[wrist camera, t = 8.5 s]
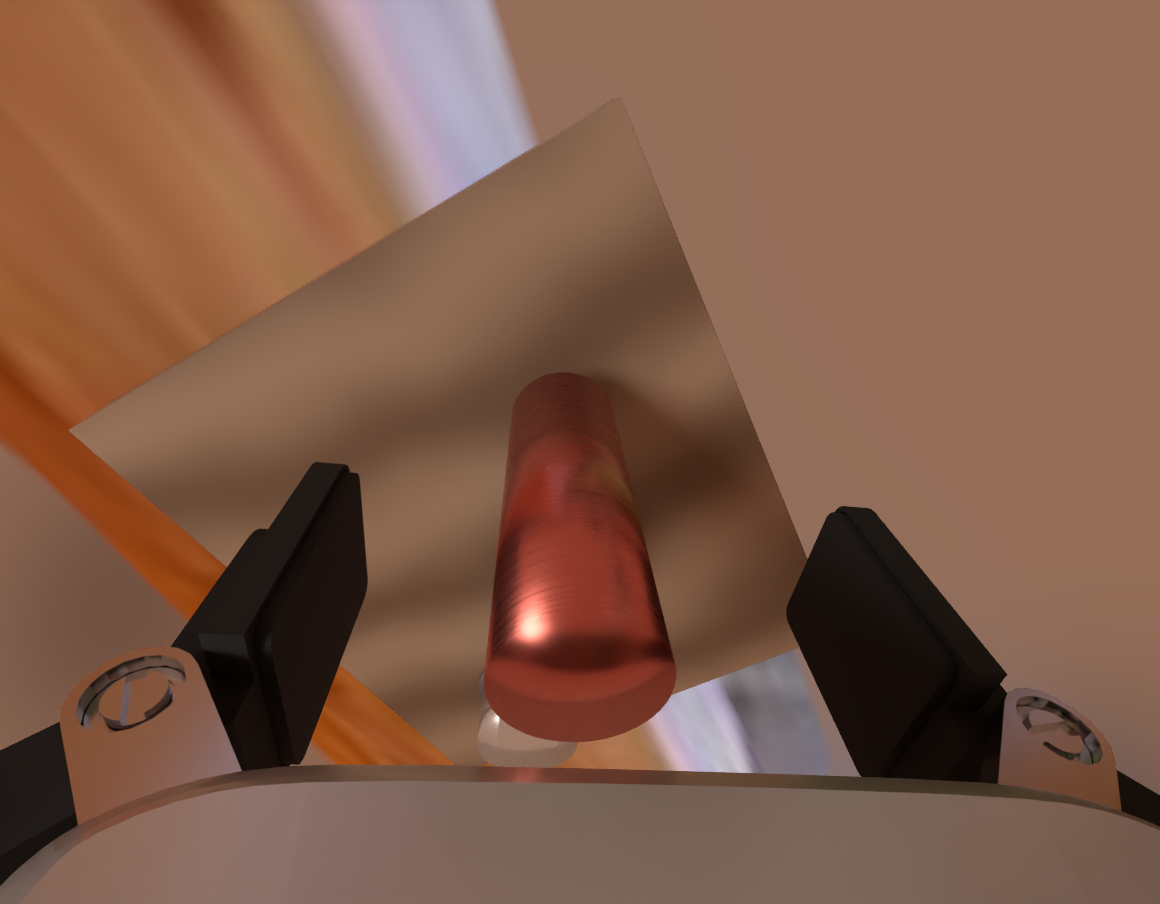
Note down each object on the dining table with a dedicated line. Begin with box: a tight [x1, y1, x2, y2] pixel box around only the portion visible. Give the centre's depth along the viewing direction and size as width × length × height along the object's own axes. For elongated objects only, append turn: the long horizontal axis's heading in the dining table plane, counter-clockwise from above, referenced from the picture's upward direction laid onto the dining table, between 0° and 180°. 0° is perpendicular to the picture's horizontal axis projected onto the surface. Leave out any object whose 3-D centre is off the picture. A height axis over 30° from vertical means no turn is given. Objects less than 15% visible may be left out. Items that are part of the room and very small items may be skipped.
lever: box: [477, 372, 676, 768], centre depth 17 cm, size 18×4×10 cm, turn 173°
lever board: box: [68, 98, 807, 766], centre depth 22 cm, size 22×19×2 cm
